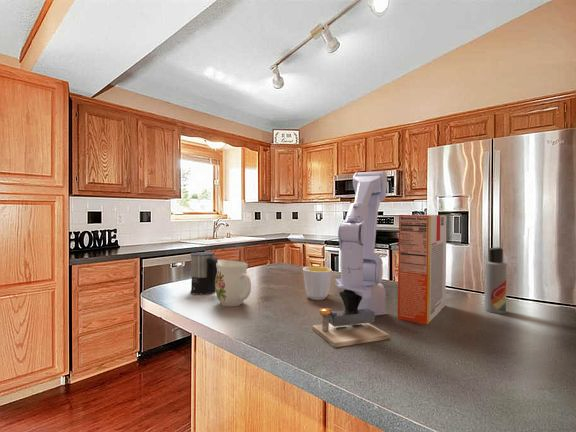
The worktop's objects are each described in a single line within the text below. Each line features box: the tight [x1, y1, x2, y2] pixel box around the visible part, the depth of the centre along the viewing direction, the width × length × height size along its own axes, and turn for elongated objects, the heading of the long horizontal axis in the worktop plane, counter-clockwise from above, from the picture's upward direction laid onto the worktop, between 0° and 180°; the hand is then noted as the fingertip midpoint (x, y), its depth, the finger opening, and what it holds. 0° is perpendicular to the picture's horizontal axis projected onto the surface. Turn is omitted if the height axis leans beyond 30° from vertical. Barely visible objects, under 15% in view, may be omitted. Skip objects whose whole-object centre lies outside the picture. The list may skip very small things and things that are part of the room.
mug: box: [302, 266, 333, 301], centre depth 117 cm, size 14×10×10 cm
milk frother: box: [190, 251, 220, 295], centre depth 126 cm, size 14×16×15 cm
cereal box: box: [397, 214, 448, 325], centre depth 101 cm, size 23×8×30 cm, turn 143°
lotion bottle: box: [483, 246, 507, 314], centre depth 102 cm, size 6×6×20 cm
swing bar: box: [319, 307, 376, 327], centre depth 83 cm, size 14×4×4 cm, turn 108°
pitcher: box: [215, 259, 252, 307], centre depth 107 cm, size 11×18×14 cm, turn 43°
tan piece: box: [312, 315, 390, 348], centre depth 82 cm, size 15×12×5 cm
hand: (351, 318), depth 86 cm, fingers closed
